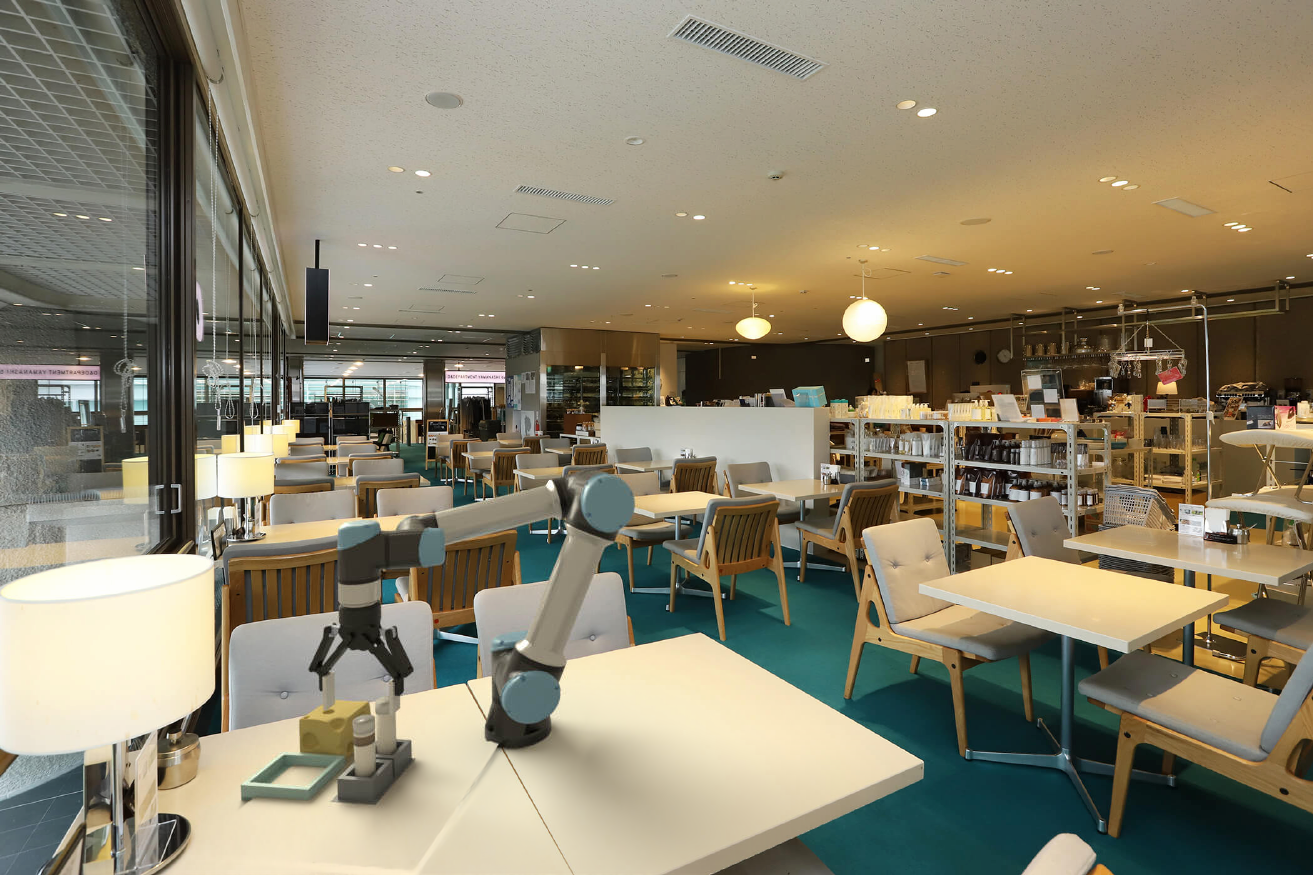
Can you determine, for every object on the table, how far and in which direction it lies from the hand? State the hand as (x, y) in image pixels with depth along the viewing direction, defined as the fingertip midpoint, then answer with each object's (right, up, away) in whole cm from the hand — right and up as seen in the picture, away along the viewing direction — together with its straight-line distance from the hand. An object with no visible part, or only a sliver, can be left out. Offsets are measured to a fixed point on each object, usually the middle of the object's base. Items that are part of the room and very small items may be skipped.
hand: (361, 709), depth 127 cm
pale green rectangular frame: (-15, -17, +4) cm, 23 cm away
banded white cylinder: (0, -16, +1) cm, 16 cm away
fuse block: (+1, -17, +5) cm, 18 cm away
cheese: (-13, -17, +16) cm, 26 cm away
